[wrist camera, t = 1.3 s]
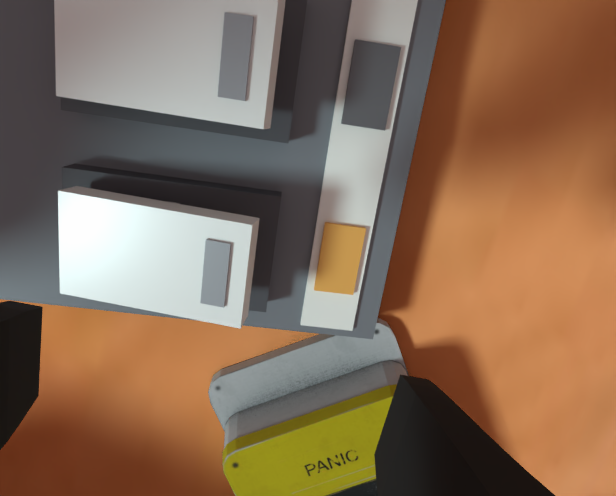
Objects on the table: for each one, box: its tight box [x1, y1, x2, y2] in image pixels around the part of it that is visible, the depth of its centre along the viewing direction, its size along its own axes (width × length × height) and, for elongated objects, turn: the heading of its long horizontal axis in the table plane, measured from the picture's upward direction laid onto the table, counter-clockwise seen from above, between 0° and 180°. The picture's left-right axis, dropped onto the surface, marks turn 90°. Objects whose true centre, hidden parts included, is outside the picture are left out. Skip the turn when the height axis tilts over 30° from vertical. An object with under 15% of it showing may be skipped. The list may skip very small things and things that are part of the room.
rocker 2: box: [58, 186, 260, 329], centre depth 15 cm, size 6×4×1 cm, turn 82°
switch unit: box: [0, 0, 446, 339], centre depth 16 cm, size 17×20×4 cm
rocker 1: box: [54, 0, 286, 129], centre depth 13 cm, size 6×4×1 cm, turn 82°
